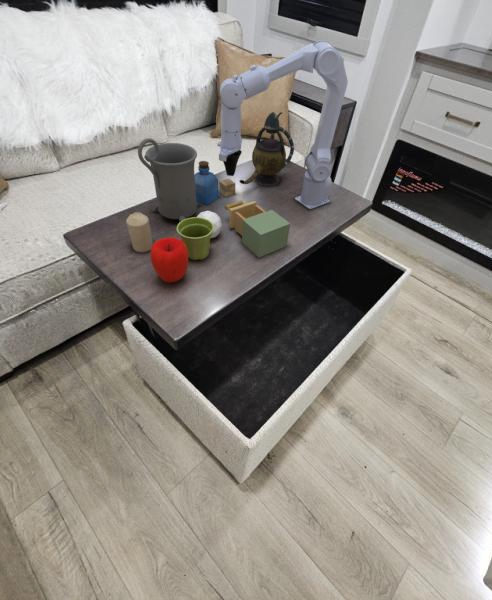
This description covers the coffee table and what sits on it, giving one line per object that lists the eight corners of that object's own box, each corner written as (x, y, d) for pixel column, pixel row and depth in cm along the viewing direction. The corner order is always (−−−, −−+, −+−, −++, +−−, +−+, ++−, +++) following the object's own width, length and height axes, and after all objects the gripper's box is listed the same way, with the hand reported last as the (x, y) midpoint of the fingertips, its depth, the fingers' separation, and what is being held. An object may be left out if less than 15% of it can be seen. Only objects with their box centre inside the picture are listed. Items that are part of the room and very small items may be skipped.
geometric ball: (211, 247, 99) (209, 239, 91) (190, 230, 99) (186, 221, 91) (227, 227, 100) (226, 218, 92) (206, 211, 100) (204, 200, 92)
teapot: (292, 176, 128) (302, 109, 111) (255, 202, 113) (260, 129, 96) (266, 167, 132) (272, 101, 115) (227, 190, 117) (227, 119, 101)
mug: (182, 196, 113) (174, 116, 95) (214, 213, 107) (212, 131, 89) (136, 219, 102) (117, 133, 84) (169, 239, 96) (155, 151, 78)
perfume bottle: (218, 197, 114) (217, 162, 105) (206, 204, 110) (205, 169, 101) (203, 191, 116) (202, 157, 107) (192, 198, 112) (189, 163, 104)
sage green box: (241, 242, 97) (242, 219, 92) (269, 232, 102) (271, 209, 96) (258, 258, 93) (260, 234, 87) (286, 246, 97) (290, 223, 92)
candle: (148, 254, 91) (141, 222, 84) (129, 250, 91) (121, 219, 84) (156, 242, 95) (150, 211, 88) (138, 239, 95) (131, 207, 88)
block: (228, 189, 118) (228, 178, 115) (235, 194, 116) (235, 183, 113) (219, 191, 117) (219, 180, 114) (225, 196, 114) (225, 186, 112)
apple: (174, 295, 81) (168, 260, 73) (147, 280, 84) (139, 246, 76) (197, 275, 86) (194, 241, 79) (171, 262, 89) (166, 228, 81)
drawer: (220, 219, 103) (220, 201, 99) (244, 211, 107) (245, 193, 103) (242, 239, 97) (243, 220, 93) (267, 229, 101) (269, 211, 97)
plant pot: (200, 269, 88) (198, 242, 82) (172, 255, 91) (168, 229, 85) (221, 251, 94) (220, 225, 87) (194, 239, 97) (192, 213, 91)
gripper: (226, 119, 101) (226, 163, 111) (208, 135, 92) (209, 182, 101) (248, 122, 100) (246, 167, 110) (232, 140, 91) (231, 187, 100)
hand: (230, 174), depth 106 cm, fingers closed
